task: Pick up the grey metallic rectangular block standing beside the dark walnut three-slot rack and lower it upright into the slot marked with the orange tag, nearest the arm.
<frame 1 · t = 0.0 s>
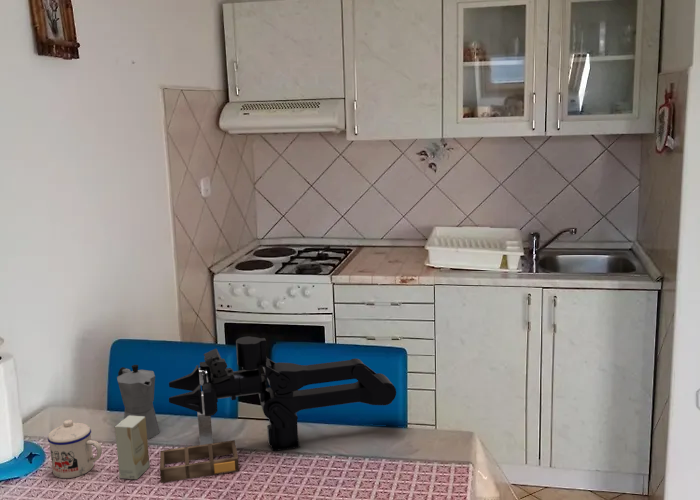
hand: (168, 392, 156), 17 cm above the table, tool horizontal, fingers open, 9 cm apart
skincare box: (135, 473, 155), on the table
rack: (199, 466, 156), on the table
grey metallic rectangular block: (206, 440, 169), on the table
coffeepot: (139, 432, 175), on the table
teacup with lid: (79, 470, 157), on the table
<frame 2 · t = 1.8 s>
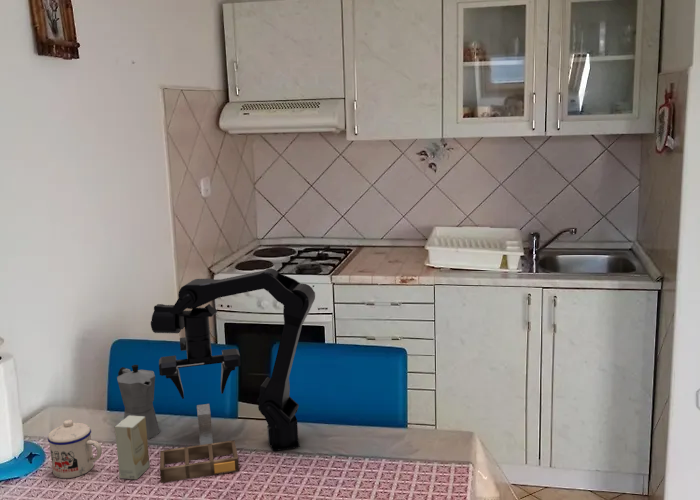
hand: (202, 395, 167), 11 cm above the table, tool pointing down, fingers open, 9 cm apart
nothing on the table moved.
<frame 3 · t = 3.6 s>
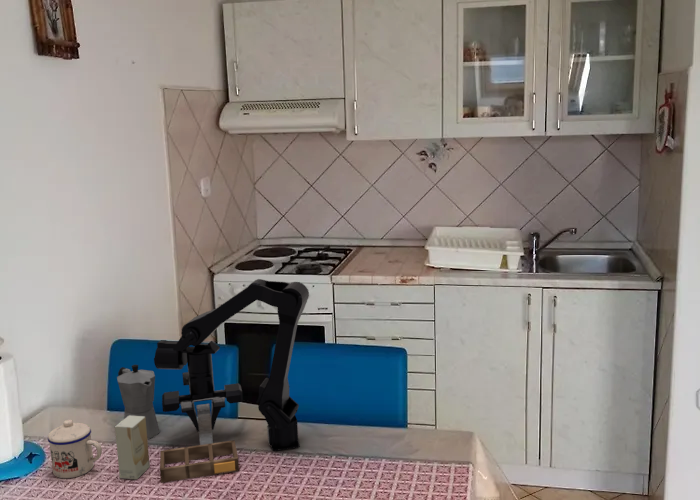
hand: (205, 430, 169), 3 cm above the table, tool pointing down, fingers closed on grey metallic rectangular block, 3 cm apart
grey metallic rectangular block: (206, 440, 169), on the table, touching gripper
everything else where it was.
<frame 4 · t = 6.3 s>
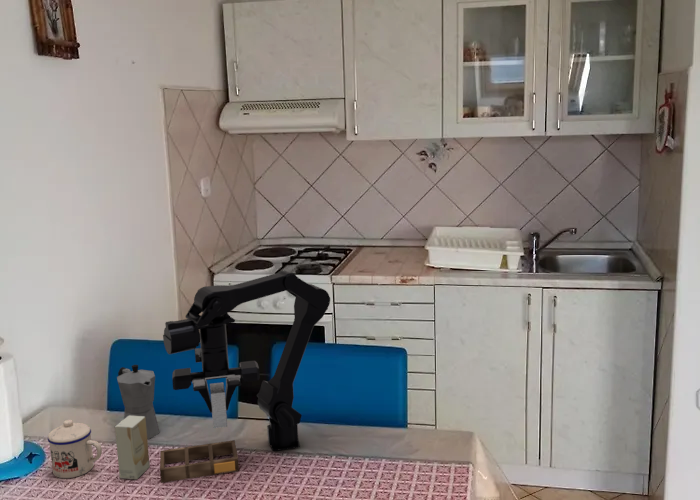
hand: (219, 411, 155), 12 cm above the table, tool pointing down, fingers closed on grey metallic rectangular block, 3 cm apart
grey metallic rectangular block: (219, 421, 156), point 10 cm above the table, touching gripper
everything else where it was.
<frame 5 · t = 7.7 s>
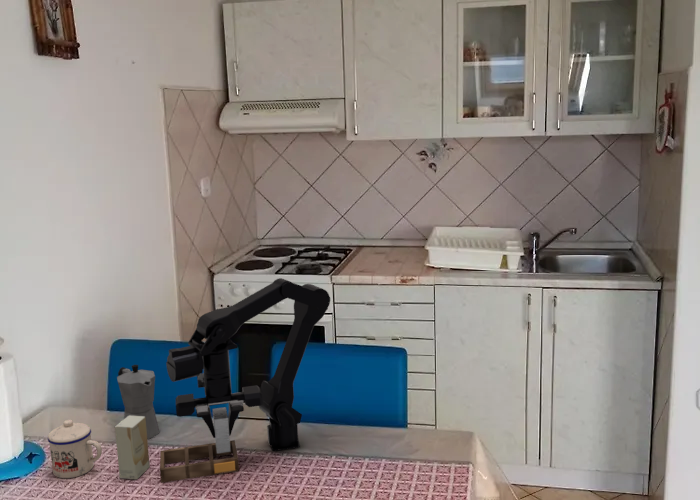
hand: (221, 436, 156), 7 cm above the table, tool pointing down, fingers closed on grey metallic rectangular block, 3 cm apart
grey metallic rectangular block: (222, 446, 157), point 4 cm above the table, touching gripper
everything else where it was.
when the fingers open (4 cm above the table, at t = 9.0 s): grey metallic rectangular block drops 2 cm, resting in rack.
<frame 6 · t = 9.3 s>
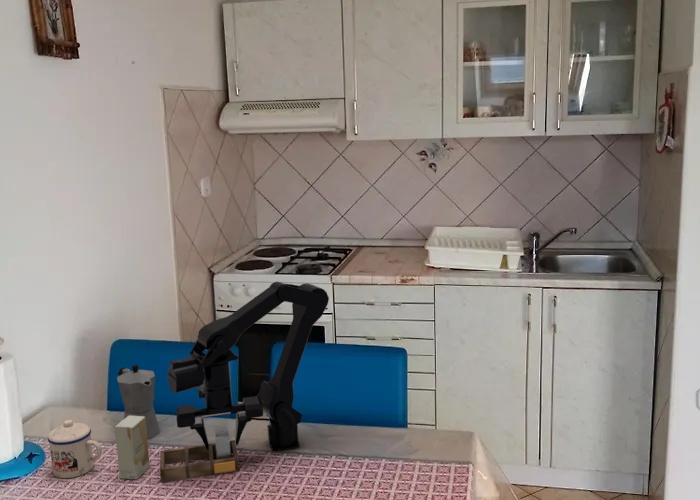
hand: (222, 446, 157), 4 cm above the table, tool pointing down, fingers open, 6 cm apart
grey metallic rectangular block: (223, 463, 158), resting in rack
everything else where it was.
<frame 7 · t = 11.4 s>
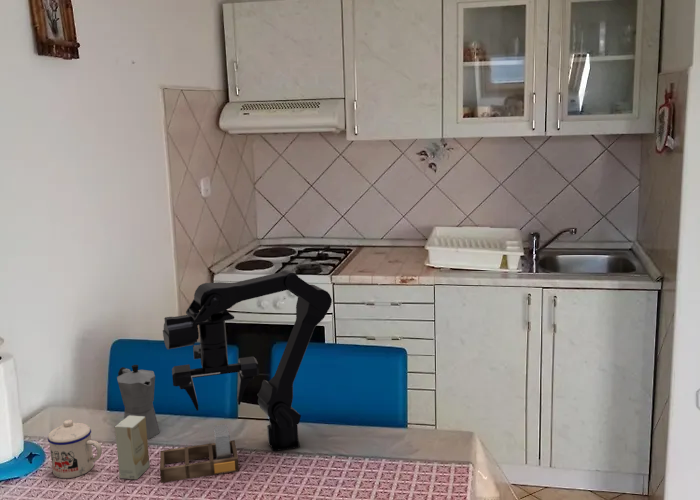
hand: (218, 407, 156), 13 cm above the table, tool pointing down, fingers open, 9 cm apart
nothing on the table moved.
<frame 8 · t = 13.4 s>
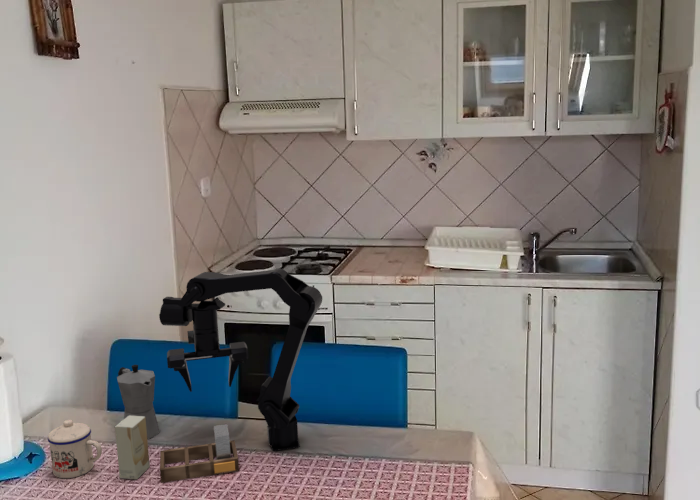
hand: (210, 388, 167), 13 cm above the table, tool pointing down, fingers open, 9 cm apart
nothing on the table moved.
at the end: grey metallic rectangular block 0.0 cm from the target spot on the rack, point 0.0 cm above the rack's base; grey metallic rectangular block tilted 0°; the gripper is holding nothing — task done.
